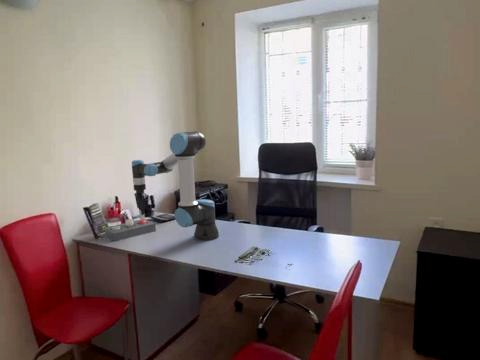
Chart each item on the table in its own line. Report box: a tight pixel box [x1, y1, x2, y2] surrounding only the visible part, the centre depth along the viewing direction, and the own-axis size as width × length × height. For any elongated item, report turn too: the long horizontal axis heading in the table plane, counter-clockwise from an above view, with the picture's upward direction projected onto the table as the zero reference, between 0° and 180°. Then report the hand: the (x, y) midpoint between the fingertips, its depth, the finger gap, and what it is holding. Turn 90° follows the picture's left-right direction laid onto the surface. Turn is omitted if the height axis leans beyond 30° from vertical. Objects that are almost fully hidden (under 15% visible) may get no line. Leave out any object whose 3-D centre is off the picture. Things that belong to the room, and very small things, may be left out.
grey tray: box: [103, 218, 157, 242], centre depth 242 cm, size 16×28×5 cm, turn 132°
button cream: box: [124, 218, 134, 228], centre depth 242 cm, size 5×5×4 cm
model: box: [234, 245, 273, 266], centre depth 193 cm, size 21×30×2 cm
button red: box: [138, 219, 147, 225], centre depth 248 cm, size 5×5×4 cm
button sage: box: [112, 225, 120, 231], centre depth 236 cm, size 5×5×4 cm
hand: (142, 219), depth 247 cm, fingers closed
